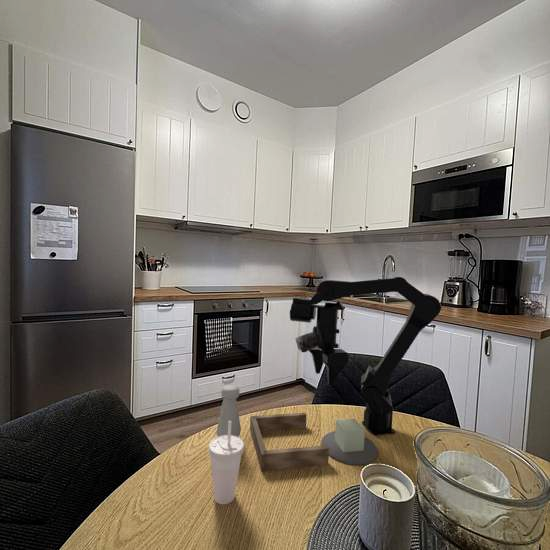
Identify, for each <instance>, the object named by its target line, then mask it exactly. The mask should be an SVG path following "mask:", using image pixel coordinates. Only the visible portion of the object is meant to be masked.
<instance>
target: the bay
mask: <svg viewBox="0 0 550 550" xmlns="http://www.w3.org/2000/svg"><path fill="white" fill-rule="evenodd" d="M306 428H307V413H306V412H297V413H295V412H293V413H292V412H291V413H281V414H280V413H278V414H276V413H275V414H264V415H263V414H262V415H251V416H250V421H249V432H250V435H251V439H252V442H253V446H254V450H255V454H256V458H257V461H258V465H259V469H260V472H266V471H267V472H268V471H277V470H286V469H295V468H296V469H297V468H305V467H314V466H323V465H329V458H330V456H329V448H328V446H327V445H323V446H321V445H316V446H315V445H314V446H313V445H312V446H303V447H290V448H280V449H269V450H268V449H266V446H265V442H264V440H263V436H262V433H261V432H267V431H268V432H269V431H282V430H283V431H285V430H295V429H297V430H298V429H306Z"/></svg>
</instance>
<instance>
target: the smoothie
mask: <svg viewBox="0 0 550 550" xmlns="http://www.w3.org/2000/svg"><path fill="white" fill-rule="evenodd" d="M244 450H245V444H244V441H243V440H242V438H241V437H240V436H239V437H236V436H232V435H231V421H228V435H223V436H219V437H218V436H216V437H214V438H213V439H211V440H210V442H209V444H208V450H207V452H208V454H209V456H210V466H211V476H212V477H211V478H212V488H213V489H212V490H213V499H214V501H215V503H217V504H218V505H228V504H230V503H232V502H233V501H234V499H235V497H236V491H237V490H236V489H237V486H238V485H237V484H238V478H239V472H240V466H241V460H242V454H243V453H244Z"/></svg>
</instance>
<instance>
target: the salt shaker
mask: <svg viewBox="0 0 550 550" xmlns="http://www.w3.org/2000/svg"><path fill="white" fill-rule="evenodd" d="M220 395H221V398H222V403H221V408H220V412H219V418H218V421H217V427H216V431H215V432H216V435H217V436H216V437H219V436H223V435H228V421H231V435H232V436H236V437H239V438H240V436H241V431H242V426H241V421H240V414H239V413H240V412H239V408H238V401H237V398H239V397H240V388H239V387H238V386H237V385H234V384H228V385H224V386H223V387H222V388H221V392H220Z"/></svg>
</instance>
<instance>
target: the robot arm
mask: <svg viewBox="0 0 550 550" xmlns="http://www.w3.org/2000/svg"><path fill="white" fill-rule="evenodd" d="M384 293H386V294H387V293H398V294H399V295H400V296H402V297H403V298H405V299H406V300H407V301H408V302H410V303H411V306H410V308H409V310H408V314H407V317H406V320H405V322H404V324H403V325H402V327H401V328H400V329H399V332H398V333H397V335H396V336H395V338H394V339H393V341H392V342H391V344H390V346H389V347H388V349H387V350H386V352H385V354H384V355H383V357H382V358H381V360H380V361H379V362H378V364H377V365H375V366H374V367H372V366H371V365H370V364H369V365H368V367H367V369H366V372H365V373H363V374H362V375H361V378H360V380H361V381H360V385H361V389H360V394H361V397H362V398H363V399H364V401H366V402H367V403H365V409H364V411H363V420H362V421H361V424H362V425H363V426H364V427H365V428H366V429H367V430H368V431H369V432H370V433H371V434H372V436H379V435H393V434H396V430H395V429H394V428H393V413H394V406H393V403H392V398H391V393H390V392H389V391H388V386H389V384H390V380H391V377H392V375H393V373H394V372H395V370H396V369H397V367H398V366H399V364H400V362H401V361H402V360H403V358H404V357H405V355H406V353H407V352H408V351H409V349H410V347H411V346H412V345H413V343H414V342H415V340H416V339H417V337H418V335H419V334H420V332H421V331H422V330H423V329H424V328H426V327H427V326H429V325H430V324H431V323H432V322H433V321H434V320H435V319H436V318H437V317H438V315H440V313H441V311H442V305H441V302H440V300H439V299H438V298H437V297H435V296H433V295H431V294H428V293H423V292H422V291H421V290H419V289H417V288H416V287H415V286H414V285H412V284H411V283H409V282H408V281H407V280H406V278H404V277H402V276H395V277H393V278H392V277H391V278H390V277H389V278H381V279H380V278H378V279H377V278H376V279H369V280H357V281H348V280H346V281H345V280H338V279H337V280H335V279H333V280H332V279H326V280H323V281H320V282H319V284H318V285H317V288H316V293H315V294H314V295H313V296H311V298H310V299H309V298H308V299H306V298H301V297H300V298H299V297H293V298H292V303H291V306H290V310H289V319H290V321H291V322H299V323H300V322H301V323H309V324H310V323H311V322H312V320H313V321H314V320H315V319H316V325H313V327H312V332H307V333H305V334H302V335H299V336H297V337H295V338H294V339H295V343H296V346H297V348H298V350H299V351H300V352H301V353H306V352H309V353H310V354H311V357H312V361H313V365H314V370H315V371H314V372H315V374H316V375H318V374H320V373H321V371H322V368H323V365H325V366H326V375H327V384H328V386H331V387H332V386H333V385H334V384H335V382H336V380H337V378H338V376H339V375H340V373H341V371H342V370H343V368H344V367H345V366H347V365H349V364H350V360H351V357H350V356H351V355H350V354H349V353H348V351H346V350H343V349H342V348H339V343H337V334H340V329H339V328H338V313H339V312H338V311H344V310H345V308H346V306H344V305H343V304H342V303H341V301H340V300H339V299H343V298H346V297H350V296H357V295H358V296H359V295H369V294H371V295H372V294H384ZM335 300H337V302H336V303H335V302H331V301H335ZM322 302H325V303H324V305H323V304H321V305H319V304H320V303H322Z"/></svg>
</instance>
